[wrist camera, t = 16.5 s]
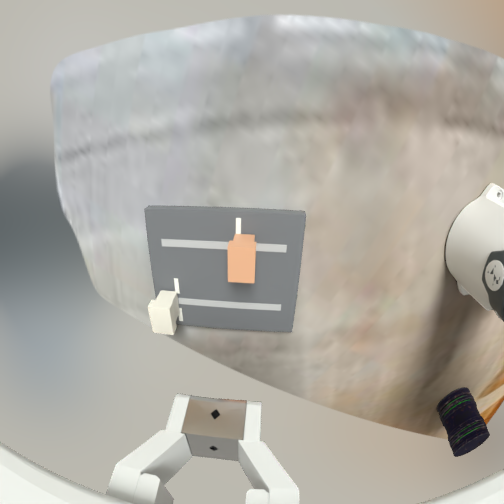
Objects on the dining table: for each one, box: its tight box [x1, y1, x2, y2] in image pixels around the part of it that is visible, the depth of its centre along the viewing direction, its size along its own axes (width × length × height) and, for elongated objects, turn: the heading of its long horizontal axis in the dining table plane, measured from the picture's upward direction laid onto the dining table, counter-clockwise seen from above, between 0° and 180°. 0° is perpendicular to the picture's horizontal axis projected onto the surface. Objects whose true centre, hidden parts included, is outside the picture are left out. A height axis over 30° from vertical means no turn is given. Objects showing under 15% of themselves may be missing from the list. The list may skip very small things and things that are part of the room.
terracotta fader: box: [228, 234, 256, 283], centre depth 35 cm, size 3×4×5 cm
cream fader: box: [148, 290, 180, 335], centre depth 39 cm, size 3×4×5 cm
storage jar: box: [437, 387, 490, 457], centre depth 47 cm, size 10×10×15 cm
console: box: [145, 206, 306, 332], centre depth 40 cm, size 20×18×2 cm
